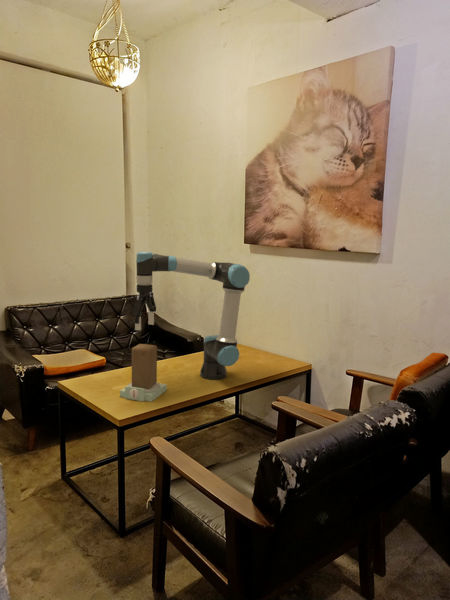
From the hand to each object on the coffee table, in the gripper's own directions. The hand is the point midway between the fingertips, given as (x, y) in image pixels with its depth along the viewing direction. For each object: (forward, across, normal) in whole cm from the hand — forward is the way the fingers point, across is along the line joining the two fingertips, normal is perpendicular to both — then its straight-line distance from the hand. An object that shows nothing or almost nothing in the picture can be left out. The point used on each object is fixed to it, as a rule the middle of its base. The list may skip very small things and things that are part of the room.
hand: (144, 327), depth 222 cm
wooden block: (+30, 0, 0) cm, 30 cm away
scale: (+34, 0, 0) cm, 34 cm away
